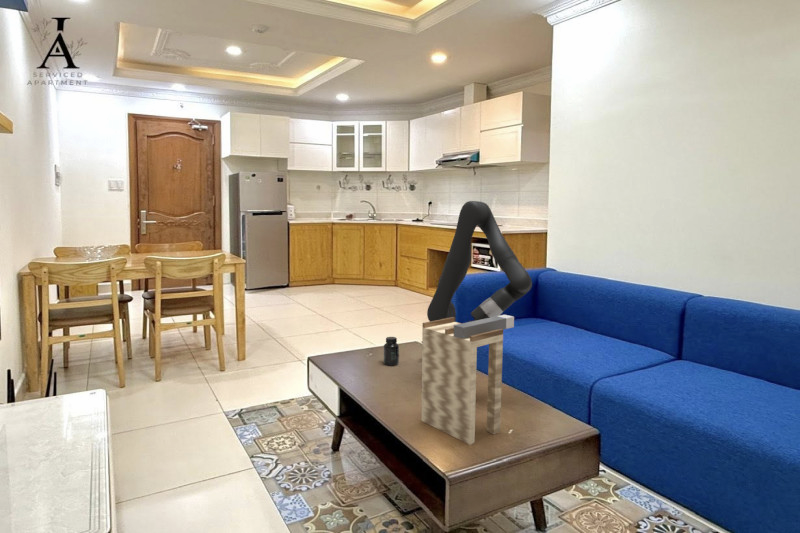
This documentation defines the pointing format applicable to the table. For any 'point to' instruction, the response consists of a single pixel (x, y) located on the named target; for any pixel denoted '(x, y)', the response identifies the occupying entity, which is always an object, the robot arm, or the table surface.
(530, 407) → the table surface
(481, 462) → the table surface
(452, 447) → the table surface
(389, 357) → the supplement bottle
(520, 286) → the robot arm
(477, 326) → the grey rectangular bar
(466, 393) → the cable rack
